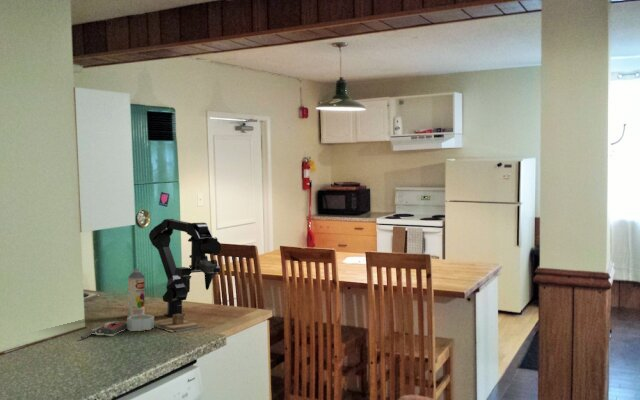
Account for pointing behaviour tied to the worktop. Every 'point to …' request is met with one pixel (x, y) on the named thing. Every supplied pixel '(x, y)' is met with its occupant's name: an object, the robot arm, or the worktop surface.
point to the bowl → (140, 322)
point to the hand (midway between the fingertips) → (197, 290)
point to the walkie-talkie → (109, 328)
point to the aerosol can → (136, 293)
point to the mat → (181, 329)
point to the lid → (178, 323)
